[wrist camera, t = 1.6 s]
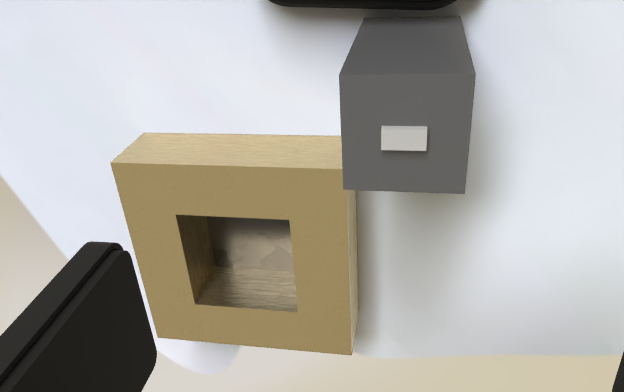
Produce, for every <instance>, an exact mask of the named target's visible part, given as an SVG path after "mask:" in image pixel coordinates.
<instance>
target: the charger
mask: <svg viewBox="0 0 624 392" xmlns="http://www.w3.org/2000/svg"><path fill="white" fill-rule="evenodd" d="M475 75H476V74H475V70H474V66H473V63H472V59H471V55H470V52H469V48H468V44H467V40H466V37H465V33H464V29H463V26H462V22H461V18H460V16H444V17H402V18H364V20H363V22H362V24H361V26H360V29H359V31H358V33H357V35H356V38H355V40H354V42H353V44H352V47H351V49H350V51H349V54H348V56H347V58H346V60H345V63H344V65H343V67H342V69H341V72H340V74H339V85H340V113H341V142H342V171H343V190H370V191H398V192H427V193H456V194H465V183H466V172H467V161H468V151H469V140H470V129H471V118H472V107H473V97H474V86H475Z"/></svg>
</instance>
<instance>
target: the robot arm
mask: <svg viewBox="0 0 624 392" xmlns="http://www.w3.org/2000/svg"><path fill="white" fill-rule="evenodd" d="M156 358H157V351H156V346H155V343H154V339H153V335H152V332H151V328H150V324H149V321H148V317H147V313H146V310H145V306H144V302H143V299H142V295H141V291H140V288H139V284H138V281H137V277H136V273H135V270H134V266H133V262H132V259H131V256H130V254H129V252H128V251H123V248H122V247H121V245H120V244H118V243H109V242H87V243H86V244H85V245H84V246H83V247H82V248H81V249H80V250H79V251H78V252H77V253H76V254H75V255H74V256H73V258H72V259H71V260H70V261H69V262H68V263H67V264H66V265H65V267H63V269H62V270H61V271H60V272H59V273H58V274H57V275H56V276H55V277H54V278H53V279H52V280H51V282H50V283H49V284H48V285H47V286H46V287H45V288H44V289H43V290H42V292H40V294H39V295H38V296H37V297H36V298H35V299H34V300H33V301H32V302H31V303H30V305H29V306H28V307H27V308H26V309H25V310H24V311H23V312H22V313H21V314H20V315H19V316H18V318H17V319H16V320H15V321H14V322H13V323H12V324H11V325H10V326H9V327H8V328H7V330H6V331H5V332H4V333H3V334H2V335H1V336H0V392H141V391H142V389H143V387H144V385H145V384H146V382H147V380H148V378H149V376H150V374H151V373H152V371H153V369H154V366H155V363H156ZM612 392H624V352H623V356H622V359H621V362H620V366H619V369H618V372H617V375H616V378H615V382H614V385H613V389H612Z"/></svg>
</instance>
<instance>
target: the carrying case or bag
mask: <svg viewBox="0 0 624 392" xmlns="http://www.w3.org/2000/svg"><path fill="white" fill-rule="evenodd" d="M269 1H271V2H273V3H275V4H278V5H281V6H287V7H318V8H358V9H398V10H434V9H438V8H442V7H444V6H447V5H449V4H451V3H453V2H454V1H456V0H269Z"/></svg>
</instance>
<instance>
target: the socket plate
mask: <svg viewBox="0 0 624 392" xmlns="http://www.w3.org/2000/svg"><path fill="white" fill-rule="evenodd" d="M111 166H112V170H113V174H114V178H115V181H116V185H117V189H118V192H119V196H120V200H121V203H122V207H123V211H124V214H125V218H126V222H127V226H128V229H129V233H130V237H131V240H132V244H133V248H134V251H135V255H136V259H137V262H138V266H139V270H140V273H141V277H142V281H143V285H144V288H145V292H146V296H147V299H148V303H149V307H150V310H151V314H152V318H153V321H154V325H155V329H156V333H157V336H158V338H168V339H179V340H190V341H201V342H212V343H223V344H234V345H245V346H256V347H267V348H277V349H288V350H299V351H310V352H321V353H332V354H343V355H352V350H353V344H354V337H355V331H356V324H357V318H358V311H359V307H358V260H357V213H356V190H343V171H342V142H341V136H303V135H243V134H184V133H143V134H142V135H141V136H140V137H139V138H137V139H136V140H135V141H134V142H133V143H132V144H131V145H130V146H128V147H127V148H126V149H125V150H124V151H123V152H122V153H121V154H120V155H118V156H117V157H116V158H115V159H114V160H113V161H112V162H111Z"/></svg>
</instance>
